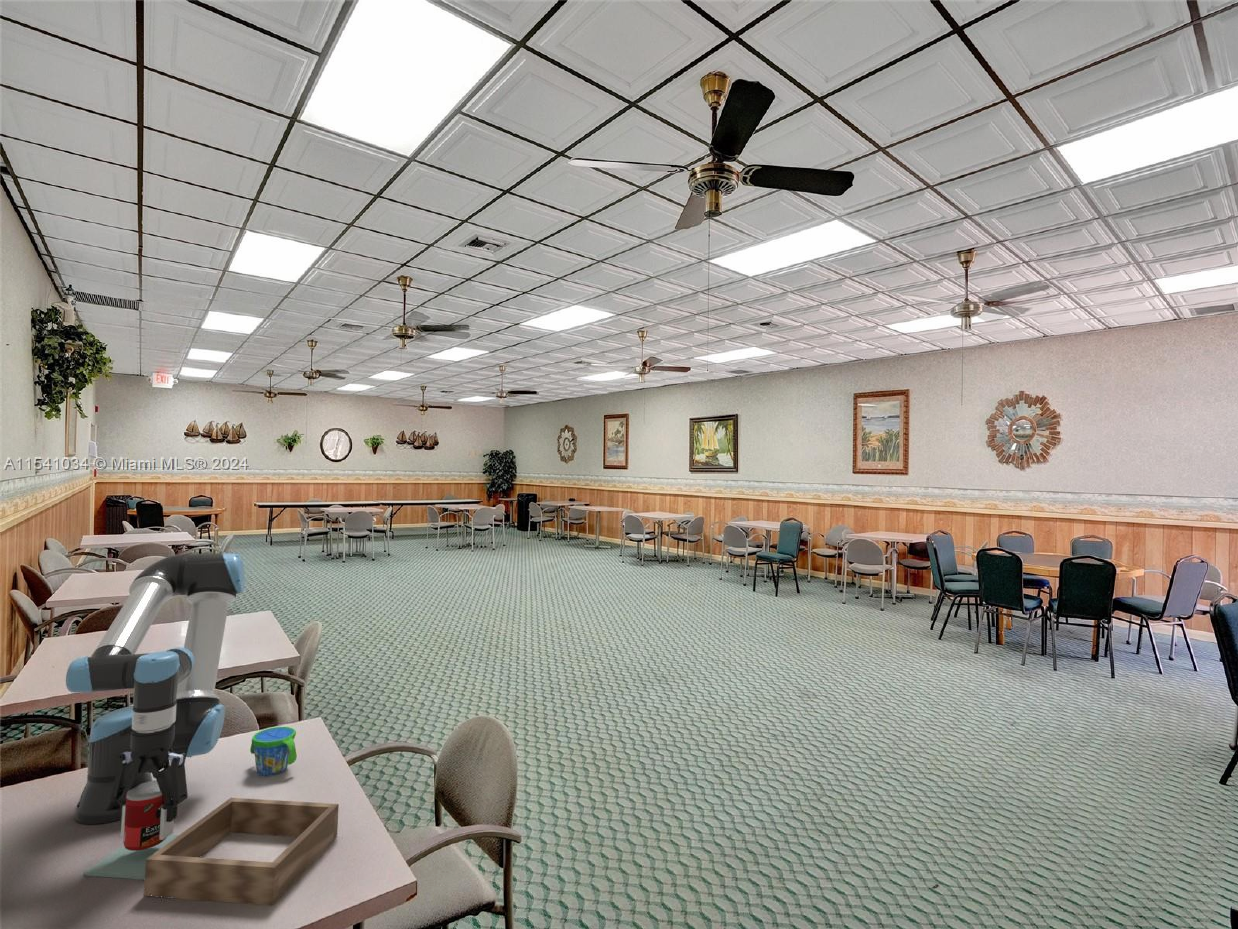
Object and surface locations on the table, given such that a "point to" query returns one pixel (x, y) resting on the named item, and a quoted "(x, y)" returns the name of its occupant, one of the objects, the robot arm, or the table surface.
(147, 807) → the canned food
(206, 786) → the table surface
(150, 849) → the mat
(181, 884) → the frame
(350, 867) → the table surface
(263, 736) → the snack cup
